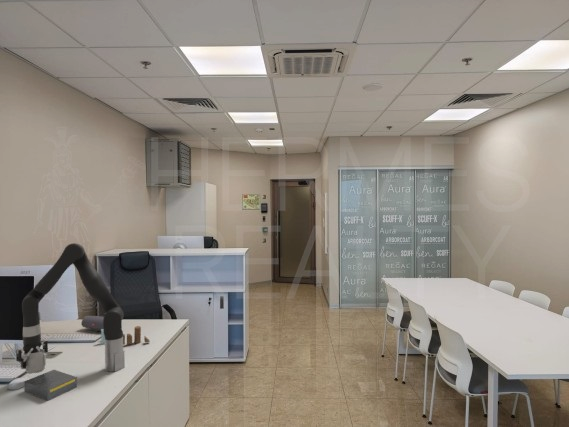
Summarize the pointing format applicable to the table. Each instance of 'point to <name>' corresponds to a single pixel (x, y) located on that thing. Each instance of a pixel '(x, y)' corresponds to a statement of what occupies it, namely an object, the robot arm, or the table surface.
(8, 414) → the table surface
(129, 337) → the wooden block set
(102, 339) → the squiggly pen holder
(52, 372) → the block
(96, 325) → the bluetooth speaker
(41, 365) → the cable organizer
